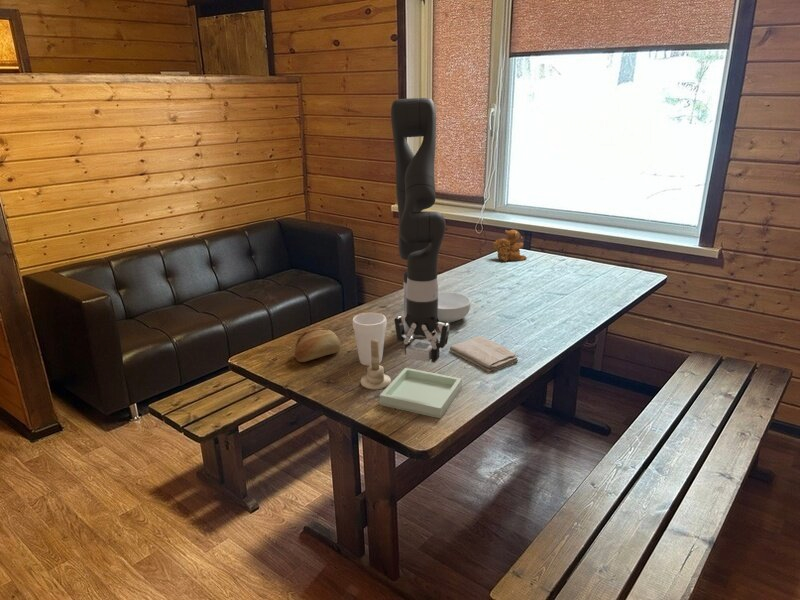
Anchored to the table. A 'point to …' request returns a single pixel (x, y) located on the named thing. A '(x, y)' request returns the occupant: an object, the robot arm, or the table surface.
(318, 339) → the bread roll
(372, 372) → the beige peg stand
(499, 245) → the stuffed squirrel
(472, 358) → the washcloth
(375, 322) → the foam cup
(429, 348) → the ring
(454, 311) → the cereal bowl
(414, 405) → the tray
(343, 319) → the table surface
